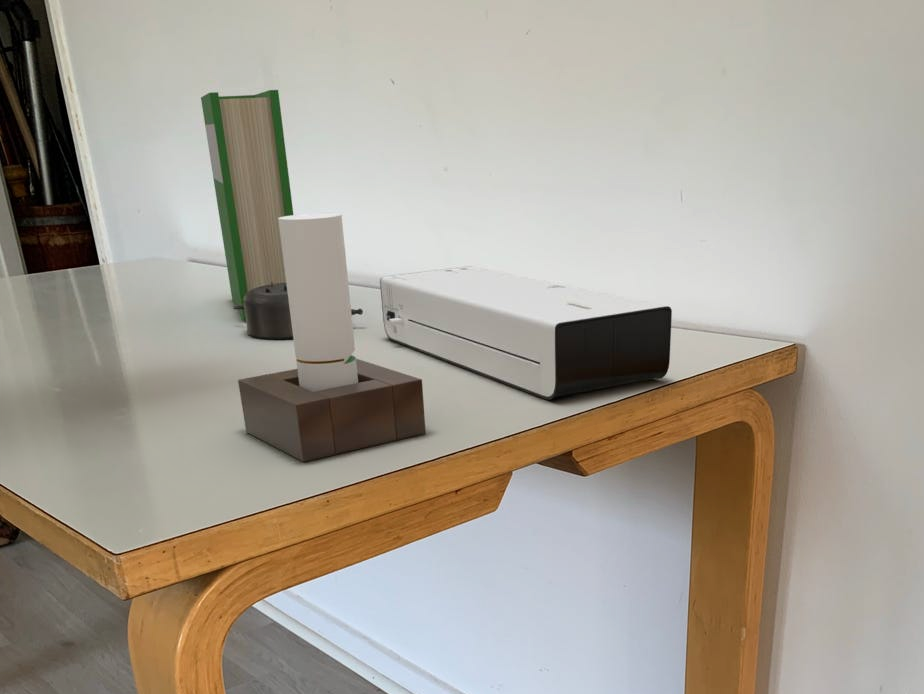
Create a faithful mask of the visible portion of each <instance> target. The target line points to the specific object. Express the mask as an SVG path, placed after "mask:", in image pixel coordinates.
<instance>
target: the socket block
mask: <svg viewBox="0 0 924 694" xmlns="http://www.w3.org/2000/svg"><path fill="white" fill-rule="evenodd" d="M356 364H357V374H358V383H355V384H350V385H345V386H340V387H335V388H330V389H325V390H320V391H315V392H312V391H309V390H307V389H304V388H302V387H300V385H299V378H298V370H297V368H294V369H289V370H283V371H278V372H273V373H269V374H268V373H267V374H262V375H256V376H251V377H246V378H239V379H237V384H238V390H239V395H240V401H241V409H242V413H243V414H242V415H243V420H244V427H245V432H246V433H247V434H248V435H251V436H253V437H255V438H256V439H258V440H261V441H263V442H264V443H266V444H267V445H270V446H272V447H275V448H276V449H278V450H279V451H281V452H284V453H286V454H287V455H289V456H291V457H293V458H295V459H296V460H299V461H301V462H303V463H306V462H310V461H315V460H318V459H323V458H326V457H330V456H335V455H340V454H343V453H349V452H352V451H356V450H360V449H365V448H370V447H373V446H377V445H382V444H386V443H391V442H395V441H398V440H399V441H400V440H403V439H408V438H412V437H415V436H420V435H424V434H427V433H426V431H427V429H426V418H425V403H424V389H423V380H422V378H418V377H415V376H412V375H409V374H406V373H404V372H401V371H397V370H394V369H391V368H388V367H384V366H381V365H379V364H374V363H372V362H369V361H365V360H362V359H359V358H356Z"/></svg>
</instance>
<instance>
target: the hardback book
mask: <svg viewBox="0 0 924 694" xmlns="http://www.w3.org/2000/svg"><path fill="white" fill-rule="evenodd" d="M279 93H280V92H279V89H269V90H266V91H262V92H259V93H257V94H248V95H245V94H244V95H223V96H222V95H220V96H219V94H220V93H219V92H218V91H216V92H208V93H206V94H204V95H202V96H201V97H200V101H201V108H202V113H203V120H204V121H203V122H204V127H205V133H206V134H205V135H206V140H207V146H208V153H209V160H210V165H211V171H212V173H211V174H212V178H213V185H214V191H215V198H216V203H217V211H218V218H219V224H220V230H221V236H222V242H223V248H224V249H223V250H224V255H225V263H226V268H227V274H228V275H227V276H228V281H229V287H230V294H231V299H232V300H231V301H232V302H233V304H234V306H241V305H244V303H243V299H244V296H245V295H246V294H247V292H249V291H250V290H252V289H254V288H257V287H261V286H265V285H271V282H273V284H277V283H286V277H285V269H284V261H283V253H282V245H281V238H280V230H279V222H278V218H280V217H284V216H291V215H294V208H293V199H292V192H291V191H292V189H291V184H290V182H291V181H290V175H289V168H288V159H287V150H286V143H285V135H284V134H285V133H284V128H283V127H284V125H283V119H282V110H281V102H280V95H279ZM236 310H237V311H238V314H239V315H240V317H241V318H242V320H243V322H246V317H245V310H244V309H236Z"/></svg>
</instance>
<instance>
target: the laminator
mask: <svg viewBox="0 0 924 694" xmlns="http://www.w3.org/2000/svg"><path fill="white" fill-rule="evenodd" d="M379 285H380V286H379V287H380V297H381V308H382V309H381V310H382V320H383V327H384V331H385V334H386V337H387V338H388V339H389V340H390V341H392V342H394V343H397V344H400V345H402V346H404V347H407V348H411V349H413V350H415V351H418V352H421V353H423V354H426V355H429V356H430V357H435V358H436V359H439V360H442V361H444V362H447V363H449V364H452V365H455V366H458V367H460V368H463V369H465V370H468V371H470V372H474V373H475V374H478V375H480V376H483V377H485V378H489V379H491V380H494V381H496V382H498V383H502V384H505V385H507V386H509V387H512V388H515V389H518V390H520V391H522V392H524V393H528V394H530V395H532V396H535V397H538V398H541V399H544V400H547V401H551V400H553V399H555V398H560V397H563V396H568V395H573V394H578V393H583V392H584V393H585V392H589V391H595V390H600V389H604V388H610V387H615V386H621V385H627V384H631V383H638V382H642V381H647V380H653V379H655V380H660V379H663V378H664V377H665V376H666V375H667V373H668V371H669V368H670V361H671V341H672V339H671V338H672V317H673V310H672V307H671V306H668V305H663V304H659V303H655V302H654V303H653V302H649V301H643V300H640V299H633V298H631V297H630V298H629V297H624V296H619V295H615V294H611V293H610V294H609V293H605V292H600V291H596V290H590V289H586V288H580V287H576V286H571V285H566V284H561V283H556V282H551V281H546V280H542V279H537V278H532V277H528V276H523V275H517V274H513V273H507V272H503V271H497V270H493V269H488V268H483V267H480V266H479V267H478V266H474V265H468V266H458V267H451V268H443V269H435V270H426V271H425V270H424V271H416V272H409V273H402V274H393V275H385V276H382V277H380V279H379Z"/></svg>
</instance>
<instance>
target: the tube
mask: <svg viewBox="0 0 924 694" xmlns="http://www.w3.org/2000/svg"><path fill="white" fill-rule="evenodd" d="M278 222H279V230H280V238H281V245H282V253H283V261H284V269H285V277H286V284H287V292H288V300H289V308H290V315H291V323H292V331H293V346H294V353H295V354H294V355H295V361H296V369H297V370H298V378H299V385H300V387H302V388H304V389H307V390H309V391H312V392H315V391H320V390H325V389H330V388H335V387H340V386H345V385H350V384H355V383H358V374H357V364H356V359H357V358H356V356H354V355H353V353H354V352H355V351H356V347H355V335H354V326H353V325H354V324H353V317H352V316H353V315H352V314H351V309H352V305H351V296H350V286H349V275H348V266H347V255H346V245H345V237H344V236H345V235H344V226H343V216H342V214H341V213H335V212H333V213H332V212H326V213H325V212H320V213H303V214H302V213H301V214H293V215H291V216H284V217H280V218H278Z"/></svg>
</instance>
